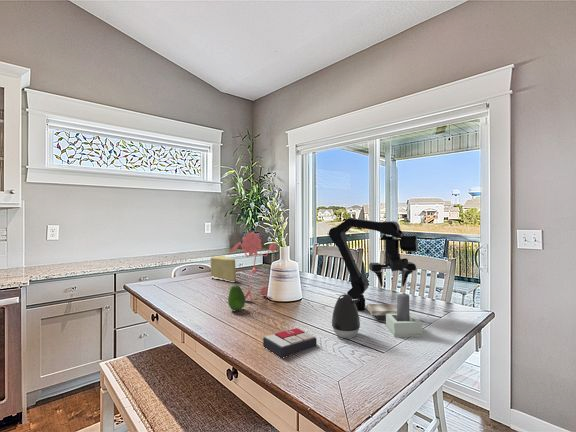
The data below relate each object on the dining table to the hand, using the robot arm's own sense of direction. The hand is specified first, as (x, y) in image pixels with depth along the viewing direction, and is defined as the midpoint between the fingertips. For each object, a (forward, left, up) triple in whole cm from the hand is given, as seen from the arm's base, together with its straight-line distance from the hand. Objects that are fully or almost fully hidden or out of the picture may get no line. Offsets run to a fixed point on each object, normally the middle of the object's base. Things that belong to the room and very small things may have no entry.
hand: (392, 286), depth 139 cm
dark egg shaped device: (-24, -22, -12) cm, 35 cm away
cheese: (-86, +69, -12) cm, 111 cm away
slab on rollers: (-4, -4, -12) cm, 13 cm away
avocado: (-69, +8, -12) cm, 71 cm away
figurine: (-64, +28, -12) cm, 71 cm away
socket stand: (-2, -19, -12) cm, 23 cm away
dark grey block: (-2, -19, -11) cm, 22 cm away
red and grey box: (-45, -30, -13) cm, 55 cm away
